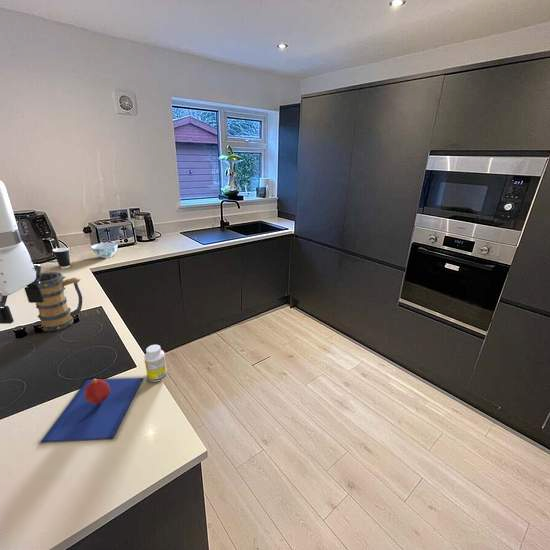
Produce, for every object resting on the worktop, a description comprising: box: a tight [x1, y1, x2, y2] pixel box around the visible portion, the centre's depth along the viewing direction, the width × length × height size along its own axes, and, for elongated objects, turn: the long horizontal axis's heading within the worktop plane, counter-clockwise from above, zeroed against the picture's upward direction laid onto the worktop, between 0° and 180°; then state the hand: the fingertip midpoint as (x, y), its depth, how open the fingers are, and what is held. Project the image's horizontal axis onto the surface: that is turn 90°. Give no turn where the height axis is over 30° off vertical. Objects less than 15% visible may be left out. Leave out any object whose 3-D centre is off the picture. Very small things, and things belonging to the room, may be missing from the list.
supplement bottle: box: [143, 344, 168, 382], centre depth 86 cm, size 6×6×10 cm
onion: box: [84, 378, 110, 404], centre depth 76 cm, size 6×6×8 cm
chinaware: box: [91, 242, 118, 259], centre depth 190 cm, size 15×15×8 cm
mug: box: [35, 271, 83, 332], centre depth 111 cm, size 13×17×20 cm
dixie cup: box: [52, 247, 71, 269], centre depth 170 cm, size 8×8×11 cm
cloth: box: [41, 377, 144, 443], centre depth 77 cm, size 16×20×1 cm
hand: (22, 311), depth 66 cm, fingers open, 9 cm apart
